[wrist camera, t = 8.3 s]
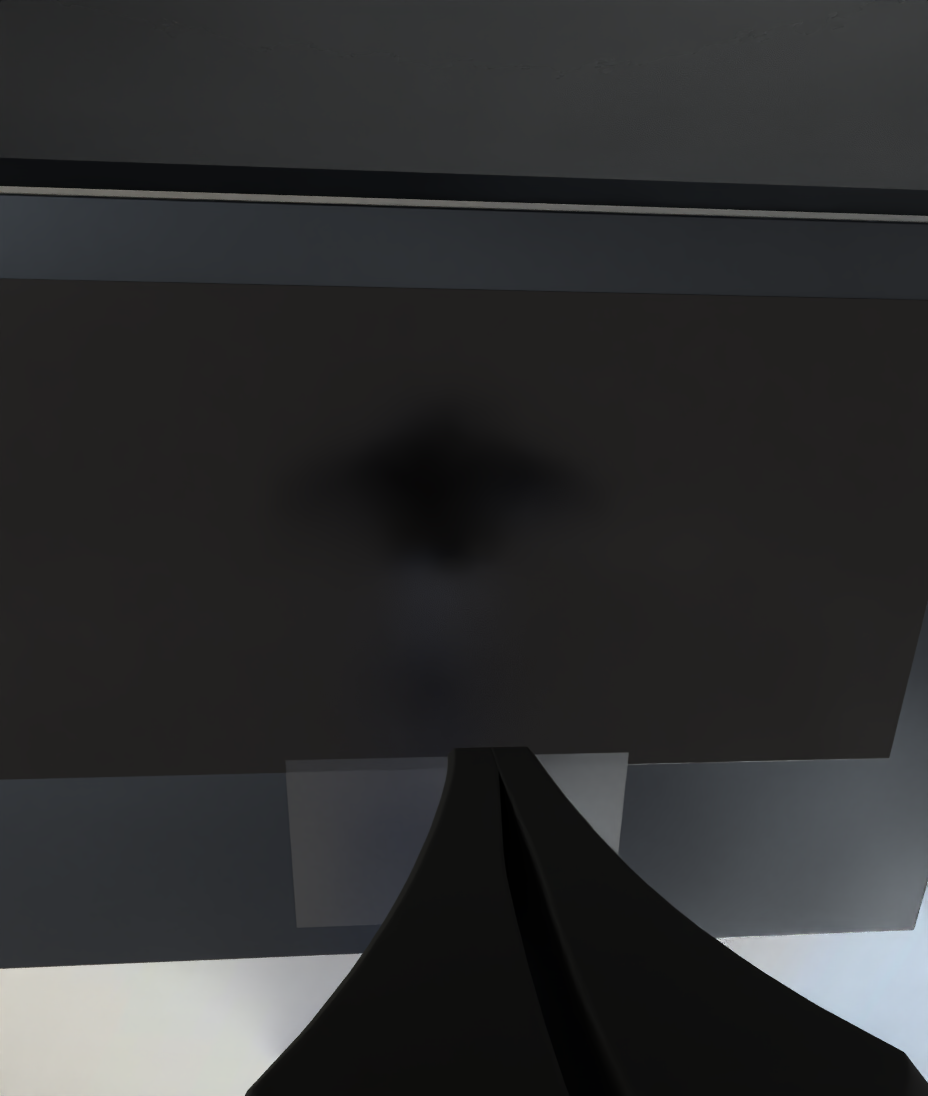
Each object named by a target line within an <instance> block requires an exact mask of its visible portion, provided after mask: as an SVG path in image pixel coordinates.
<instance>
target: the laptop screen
mask: <svg viewBox="0 0 928 1096" xmlns="http://www.w3.org/2000/svg"><path fill="white" fill-rule="evenodd" d="M0 186H19V187H50V188H81V189H112V190H143V191H174V192H205V193H236V194H267V195H299V196H330V197H361V198H392V199H423V200H454V201H485V202H516V203H547V204H578V205H609V206H640V207H671V208H702V209H733V210H764V211H795V212H826V213H857V214H888V215H920V216H928V0H0Z"/></svg>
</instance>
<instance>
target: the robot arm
mask: <svg viewBox="0 0 928 1096" xmlns="http://www.w3.org/2000/svg"><path fill="white" fill-rule="evenodd" d="M245 1096H928V1083H927V1081H926V1080H925V1079H924V1077H923V1076H922V1075H921V1074H920V1072H919V1071H918V1070H917V1068H916V1067H915V1066H914V1064H913V1063H912V1062H911V1060H910V1059H909V1058H908V1056H907V1055H906V1054H905V1053H904V1052H903V1051H901V1050H899V1049H897V1048H895V1047H894V1046H892V1045H890V1044H888V1043H886V1042H884V1041H882V1040H881V1039H879V1038H877V1037H875V1036H873V1035H871V1034H869V1033H868V1032H866V1031H864V1030H862V1029H860V1028H858V1027H856V1026H855V1025H853V1024H851V1023H849V1022H847V1021H845V1020H843V1019H842V1018H840V1017H838V1016H836V1015H834V1014H832V1013H830V1012H829V1011H827V1010H825V1009H823V1008H821V1007H819V1006H818V1005H816V1004H814V1003H813V1002H811V1001H809V1000H808V999H806V998H804V997H803V996H801V995H799V994H798V993H796V992H795V991H793V990H791V989H790V988H788V987H787V986H785V985H783V984H782V983H780V982H779V981H777V980H775V979H774V978H772V977H770V976H769V975H767V974H766V973H764V972H763V971H761V970H760V969H758V968H757V967H755V966H754V965H752V964H751V963H749V962H748V961H746V960H745V959H743V958H742V957H740V956H739V955H737V954H736V953H734V952H733V951H732V950H730V949H729V948H728V947H726V946H725V945H723V944H722V943H721V942H719V941H718V940H717V939H715V938H714V937H713V936H711V935H710V934H708V933H707V932H706V931H704V930H703V929H702V928H700V927H699V926H698V925H696V924H695V923H694V922H692V921H691V920H690V919H689V918H687V917H686V916H685V915H684V914H682V913H681V912H680V911H679V910H677V909H676V908H675V907H674V906H673V905H671V904H670V903H669V902H668V901H667V900H666V899H664V898H663V897H662V896H661V895H660V894H659V893H657V892H656V891H655V890H654V889H653V888H652V887H651V886H649V885H648V884H647V883H646V882H645V881H644V880H643V879H642V878H641V877H640V876H639V875H637V874H636V873H635V872H634V871H633V870H632V869H631V868H630V867H629V866H628V865H627V864H626V863H625V862H624V861H623V860H622V859H621V858H620V857H619V856H618V855H617V854H616V852H615V851H614V850H613V849H612V848H611V847H610V846H609V845H608V844H607V843H606V842H605V841H604V840H603V839H602V838H601V837H600V835H599V834H598V833H597V832H596V831H595V830H594V829H593V828H592V826H591V825H590V824H589V823H588V822H587V821H586V820H585V818H584V817H583V816H582V815H581V814H580V813H579V811H578V810H577V809H576V808H575V807H574V806H573V804H572V803H571V802H570V801H569V799H568V798H567V797H566V796H565V794H564V793H563V792H562V791H561V789H560V788H559V787H558V786H557V784H556V783H555V782H554V780H553V779H552V778H551V776H550V775H549V774H548V772H547V771H546V770H545V768H544V767H543V766H542V764H541V763H540V761H539V760H538V759H537V757H536V756H535V754H534V753H533V752H532V751H531V750H530V749H529V748H528V747H527V746H526V747H481V748H454V749H453V750H452V751H451V752H450V753H449V754H448V768H447V775H446V780H445V784H444V788H443V792H442V795H441V799H440V802H439V805H438V808H437V811H436V813H435V816H434V819H433V822H432V825H431V828H430V830H429V833H428V835H427V838H426V840H425V842H424V844H423V847H422V849H421V851H420V853H419V855H418V858H417V860H416V862H415V864H414V867H413V869H412V871H411V873H410V875H409V877H408V879H407V881H406V883H405V885H404V887H403V888H402V890H401V892H400V894H399V896H398V898H397V899H396V901H395V903H394V905H393V906H392V908H391V910H390V912H389V913H388V915H387V917H386V918H385V920H384V922H383V923H382V925H381V926H380V928H379V929H378V931H377V932H376V934H375V936H374V937H373V939H372V940H371V942H370V943H369V945H368V946H367V948H366V950H365V951H364V952H363V954H362V955H361V957H360V958H359V960H358V961H357V963H356V964H355V965H354V967H353V968H352V970H351V971H350V972H349V974H348V975H347V976H346V977H345V979H344V980H343V981H342V983H341V984H340V985H339V986H338V988H337V989H336V990H335V992H334V993H333V994H332V995H331V997H330V998H329V999H328V1000H327V1002H326V1003H325V1004H324V1006H323V1007H322V1008H321V1009H320V1011H319V1012H318V1013H317V1014H316V1016H315V1017H314V1018H313V1020H312V1021H311V1022H310V1023H309V1024H308V1025H307V1027H306V1028H305V1029H304V1030H303V1031H302V1032H301V1034H300V1035H299V1036H298V1037H297V1038H296V1039H295V1040H294V1041H293V1042H292V1043H291V1044H290V1045H289V1047H288V1048H287V1049H286V1050H285V1051H284V1052H283V1053H282V1054H281V1055H280V1056H279V1057H278V1058H277V1060H276V1061H275V1062H274V1063H273V1064H272V1065H271V1066H270V1067H269V1068H268V1069H267V1070H266V1071H265V1072H264V1074H263V1075H262V1076H261V1077H260V1078H259V1079H258V1080H257V1081H256V1082H255V1083H254V1084H253V1085H252V1086H251V1087H250V1088H249V1090H248V1091H247V1093H246V1095H245Z"/></svg>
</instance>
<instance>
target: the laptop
mask: <svg viewBox="0 0 928 1096" xmlns="http://www.w3.org/2000/svg"><path fill="white" fill-rule="evenodd" d="M526 746H527V747H528V748H529V749H530V750H531V751H532V752H533V753H534V754H535V756H536V757H537V759H538V760H539V761H540V763H541V764H542V766H543V767H544V768H545V770H546V771H547V772H548V774H549V775H550V776H551V778H552V779H553V780H554V782H555V783H556V784H557V786H558V787H559V788H560V789H561V791H562V792H563V793H564V794H565V796H566V797H567V798H568V799H569V801H570V802H571V803H572V804H573V806H574V807H575V808H576V809H577V810H578V811H579V813H580V814H581V815H582V816H583V817H584V818H585V820H586V821H587V822H588V823H589V824H590V825H591V826H592V828H593V829H594V830H595V831H596V832H597V833H598V834H599V835H600V837H601V838H602V839H603V840H604V841H605V842H606V843H607V844H608V845H609V846H610V847H611V848H612V849H613V850H614V851H615V852H616V854H617V855H618V856H619V857H620V858H621V859H622V860H623V861H624V862H625V863H626V864H627V865H628V866H629V867H630V868H631V869H632V870H633V871H634V872H635V873H636V874H637V875H639V876H640V877H641V878H642V879H643V880H644V881H645V882H646V883H647V884H648V885H649V886H651V887H652V888H653V889H654V890H655V891H656V892H657V893H659V894H660V895H661V896H662V897H663V898H664V899H666V900H667V901H668V902H669V903H670V904H671V905H673V906H674V907H675V908H676V909H677V910H679V911H680V912H681V913H682V914H684V915H685V916H686V917H687V918H689V919H690V920H691V921H692V922H694V923H695V924H696V925H698V926H699V927H700V928H702V929H703V930H704V931H706V932H707V933H708V934H710V935H711V936H713V937H714V938H715V939H716V938H740V937H763V936H787V935H810V934H834V933H858V932H881V931H905V930H913V929H914V927H915V924H916V920H917V917H918V913H919V910H920V906H921V903H922V899H923V895H924V892H925V888H926V885H927V881H928V222H913V221H882V220H850V219H818V218H787V217H755V216H723V215H692V214H660V213H628V212H596V211H565V210H533V209H501V208H470V207H438V206H406V205H375V204H343V203H311V202H280V201H248V200H216V199H185V198H153V197H121V196H89V195H58V194H26V193H0V969H6V968H30V967H53V966H77V965H101V964H124V963H148V962H172V961H195V960H219V959H243V958H266V957H290V956H314V955H337V954H361V953H363V952H364V951H365V950H366V948H367V946H368V945H369V943H370V942H371V940H372V939H373V937H374V936H375V934H376V932H377V931H378V929H379V928H380V926H381V925H382V923H383V922H384V920H385V918H386V917H387V915H388V913H389V912H390V910H391V908H392V906H393V905H394V903H395V901H396V899H397V898H398V896H399V894H400V892H401V890H402V888H403V887H404V885H405V883H406V881H407V879H408V877H409V875H410V873H411V871H412V869H413V867H414V864H415V862H416V860H417V858H418V855H419V853H420V851H421V849H422V847H423V844H424V842H425V840H426V838H427V835H428V833H429V830H430V828H431V825H432V822H433V819H434V816H435V813H436V811H437V808H438V805H439V802H440V799H441V795H442V792H443V788H444V784H445V780H446V775H447V768H448V754H449V753H450V752H451V751H452V750H453V749H454V748H481V747H526Z"/></svg>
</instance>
